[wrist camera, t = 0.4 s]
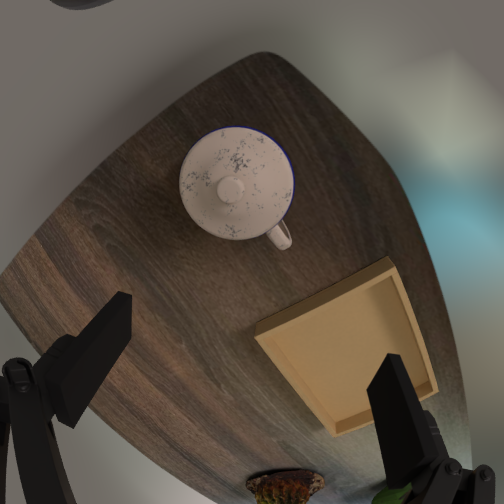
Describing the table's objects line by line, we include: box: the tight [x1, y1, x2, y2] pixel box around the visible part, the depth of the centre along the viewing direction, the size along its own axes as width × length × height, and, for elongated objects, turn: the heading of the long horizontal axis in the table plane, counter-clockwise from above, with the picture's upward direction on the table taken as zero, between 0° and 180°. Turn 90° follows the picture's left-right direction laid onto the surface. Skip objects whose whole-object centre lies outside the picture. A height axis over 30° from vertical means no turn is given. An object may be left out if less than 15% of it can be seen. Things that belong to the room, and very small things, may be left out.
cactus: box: [246, 470, 325, 504], centre depth 48 cm, size 17×16×10 cm
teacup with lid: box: [179, 126, 295, 250], centre depth 27 cm, size 12×9×12 cm
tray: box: [254, 256, 439, 438], centre depth 38 cm, size 24×18×3 cm
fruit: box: [372, 482, 412, 504], centre depth 47 cm, size 15×10×10 cm, turn 118°
